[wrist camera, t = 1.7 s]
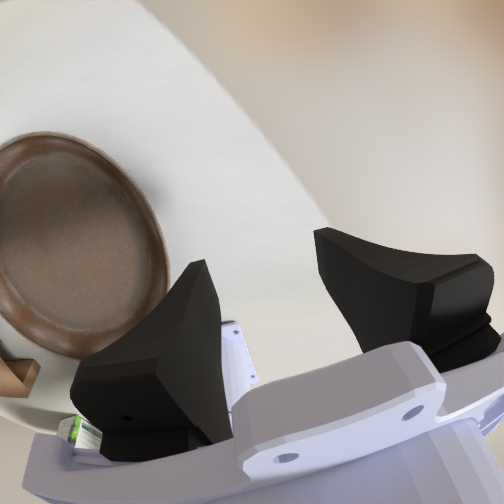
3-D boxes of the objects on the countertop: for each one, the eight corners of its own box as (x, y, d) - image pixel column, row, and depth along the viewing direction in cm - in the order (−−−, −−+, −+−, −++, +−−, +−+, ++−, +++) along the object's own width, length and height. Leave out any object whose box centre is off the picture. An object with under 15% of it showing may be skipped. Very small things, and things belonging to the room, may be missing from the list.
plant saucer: (-40, 203, 17) (-60, 215, 14) (107, 77, 16) (89, 72, 13) (58, 355, 26) (50, 375, 24) (216, 302, 25) (217, 327, 22)
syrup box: (105, 432, 34) (94, 510, 21) (85, 436, 35) (73, 507, 22) (77, 413, 32) (59, 496, 19) (59, 419, 32) (41, 493, 20)
